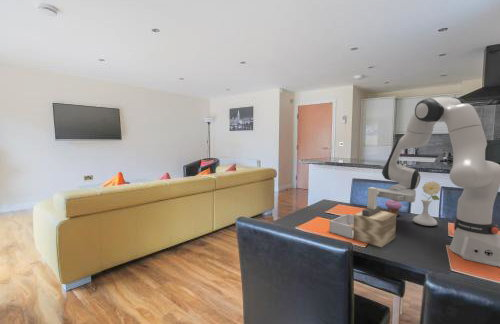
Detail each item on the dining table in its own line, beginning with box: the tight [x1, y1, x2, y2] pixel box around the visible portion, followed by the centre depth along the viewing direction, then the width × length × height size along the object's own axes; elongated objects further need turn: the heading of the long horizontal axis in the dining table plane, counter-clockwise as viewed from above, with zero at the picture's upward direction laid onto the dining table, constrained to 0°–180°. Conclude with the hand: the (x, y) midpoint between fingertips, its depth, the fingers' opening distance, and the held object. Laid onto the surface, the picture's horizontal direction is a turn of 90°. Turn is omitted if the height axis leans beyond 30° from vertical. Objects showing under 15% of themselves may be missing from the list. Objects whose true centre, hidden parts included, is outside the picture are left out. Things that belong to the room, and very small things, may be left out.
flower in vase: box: [412, 180, 442, 227], centre depth 142 cm, size 13×11×25 cm
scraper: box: [362, 186, 381, 217], centre depth 123 cm, size 3×13×12 cm, turn 131°
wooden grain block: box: [352, 210, 397, 248], centre depth 123 cm, size 13×16×12 cm
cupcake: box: [385, 199, 402, 217], centre depth 160 cm, size 9×9×10 cm
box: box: [329, 213, 354, 240], centre depth 133 cm, size 12×18×6 cm, turn 131°
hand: (386, 197), depth 129 cm, fingers open, 8 cm apart
